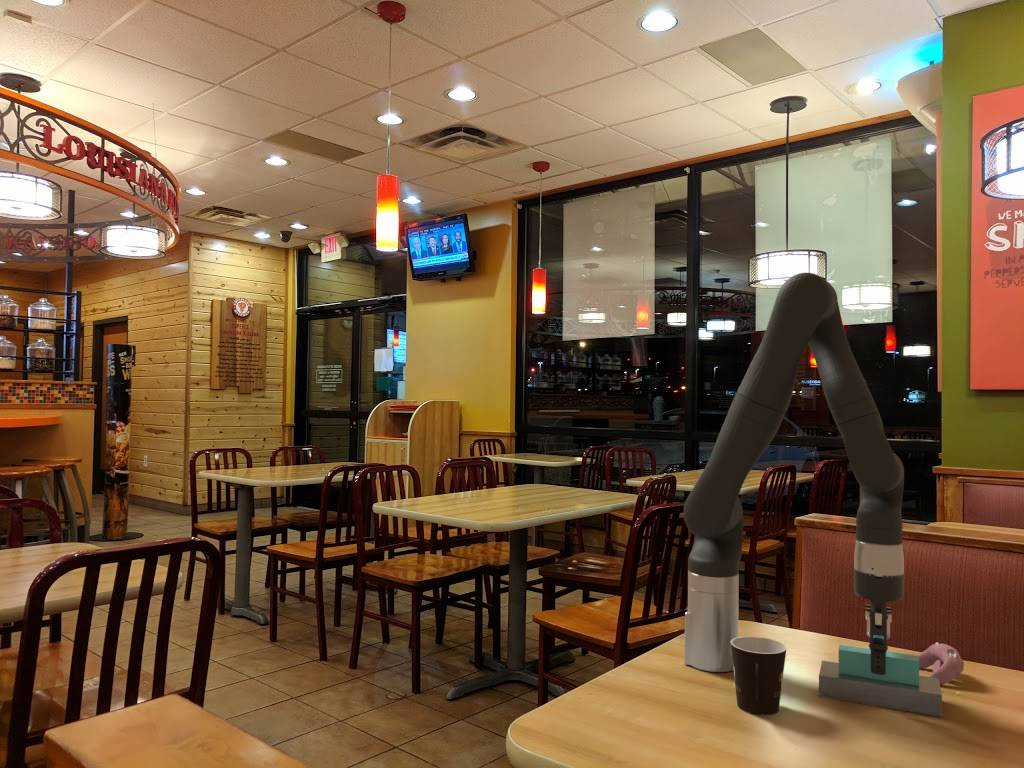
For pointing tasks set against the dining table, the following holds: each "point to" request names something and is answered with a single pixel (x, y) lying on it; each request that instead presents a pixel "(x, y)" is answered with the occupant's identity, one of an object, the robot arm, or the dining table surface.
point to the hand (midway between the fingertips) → (878, 665)
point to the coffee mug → (758, 673)
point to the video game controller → (942, 662)
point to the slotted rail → (881, 691)
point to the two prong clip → (897, 665)
